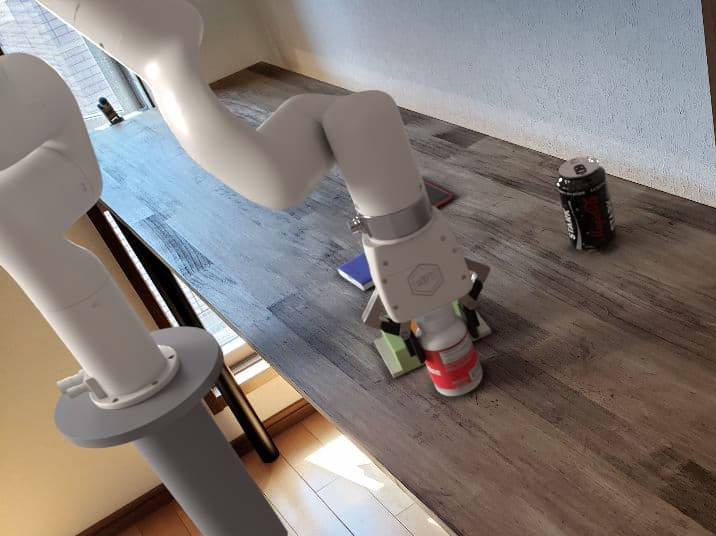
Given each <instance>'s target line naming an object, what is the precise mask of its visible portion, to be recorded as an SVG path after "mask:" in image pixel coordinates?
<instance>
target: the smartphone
mask: <svg viewBox="0 0 716 536" xmlns="http://www.w3.org/2000/svg"><path fill="white" fill-rule="evenodd" d="M423 182H424V185H425V188H426V191H427V194H428V197H429V199H430V202H431V205H432V206H434V207H436V208H439V207H440V206H442V205H444V204H446V203H447V202H449V201H450V200H452V199H453V195H452V193H450V192H447V191H445V190H444V189H442V188H439V187H437V186H435V185H433V184H431V183H429V182H427V181H425V180H423Z"/></svg>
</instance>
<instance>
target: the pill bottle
mask: <svg viewBox="0 0 716 536" xmlns="http://www.w3.org/2000/svg"><path fill="white" fill-rule="evenodd" d="M415 321H416V324H417V326H418V329H417V332H416V337H417V340H418V342H419V345H420V347H421V350H422V352H423V355H424V357H425V359H426V361H425V363H426V364H425V365H426V368H427V370H428V373H429V375H430V377H431V380H432V383H433V385H434V387H435V389H436V390H437V392H438V393H440V394H441V395H443V396H446V397H459V396H463V395H465V394H468V393H470V392H471V391H473V390H474V389H476V388H477V387H478V386H479V385H480V383H481V381H482V379H483V369H482V366H481V363H480V360H479V357H478V354H477V351H476V349H475V346H474V343H473V342H472V340H471V337H470V334H469V331H468V328H467V326H466V323H465V321H464V320H463V319H462V318H461V317H460V316H459V315H457V314H455V310H454V308H453V305H452V303H449V304H446V305H444V306H442V307H440V308H438V309H435V310H433V311H431V312H429V313H427V314H424V315H422V316H420V317H417V318H415Z"/></svg>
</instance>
